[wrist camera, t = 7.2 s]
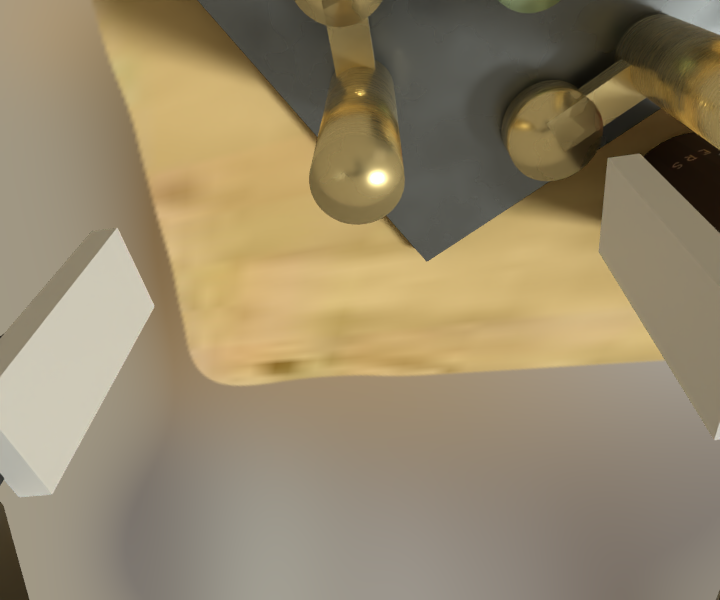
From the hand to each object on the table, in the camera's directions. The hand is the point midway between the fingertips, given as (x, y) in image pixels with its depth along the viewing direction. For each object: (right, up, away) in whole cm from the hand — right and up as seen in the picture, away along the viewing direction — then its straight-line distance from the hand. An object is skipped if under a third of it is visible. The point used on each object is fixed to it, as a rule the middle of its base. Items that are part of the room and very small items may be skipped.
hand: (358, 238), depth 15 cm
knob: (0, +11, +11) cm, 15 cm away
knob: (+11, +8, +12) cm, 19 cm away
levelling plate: (+5, +13, +11) cm, 18 cm away
